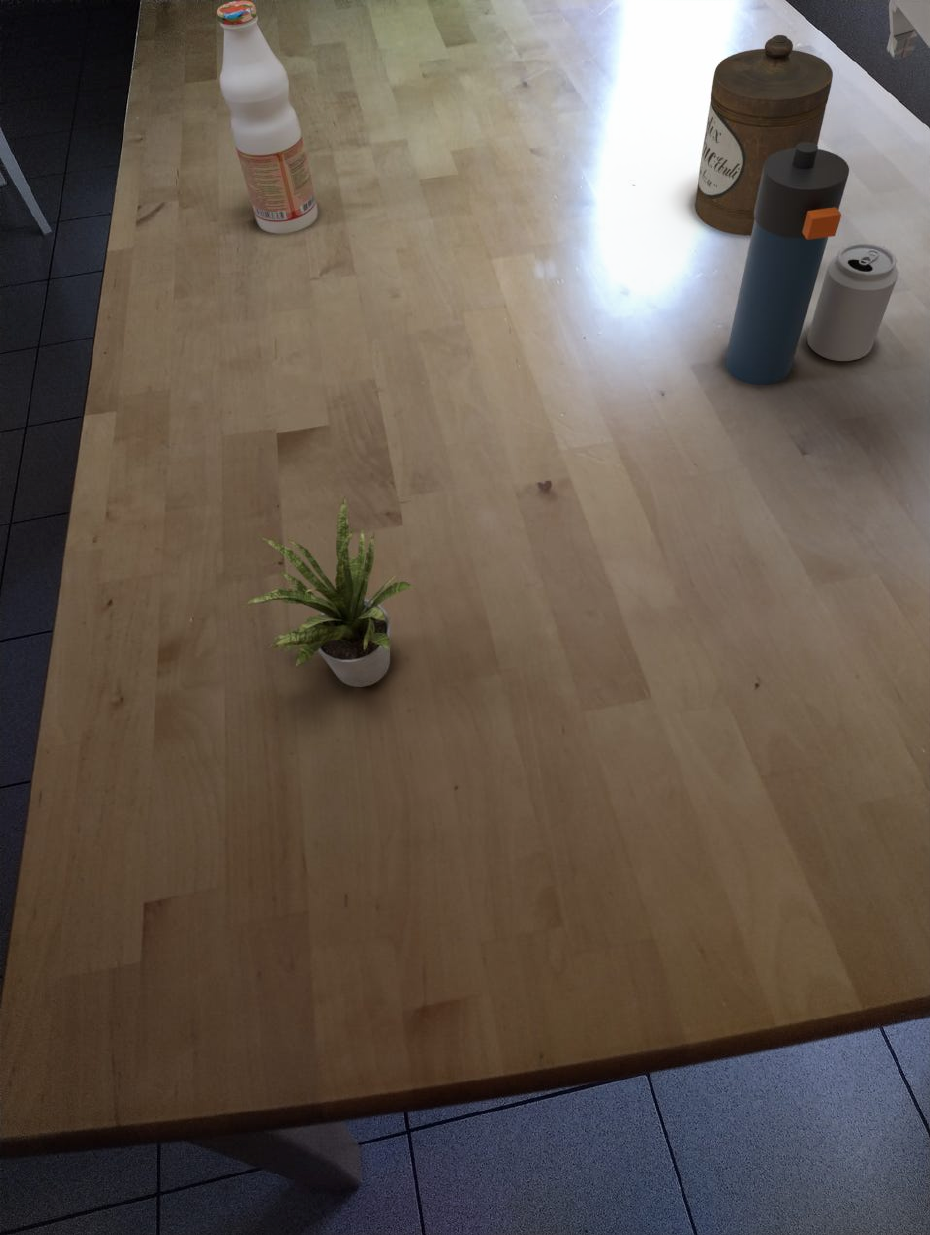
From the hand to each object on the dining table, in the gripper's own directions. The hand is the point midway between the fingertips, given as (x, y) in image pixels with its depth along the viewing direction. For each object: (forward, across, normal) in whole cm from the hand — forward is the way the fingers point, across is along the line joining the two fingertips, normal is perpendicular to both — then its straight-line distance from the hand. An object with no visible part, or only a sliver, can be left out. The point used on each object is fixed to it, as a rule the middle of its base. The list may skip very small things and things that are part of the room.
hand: (921, 84), depth 75 cm
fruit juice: (+31, +50, +65) cm, 88 cm away
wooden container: (+38, +34, 0) cm, 51 cm away
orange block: (+11, -2, +8) cm, 14 cm away
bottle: (+32, +1, +10) cm, 34 cm away
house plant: (+21, -30, +61) cm, 71 cm away
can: (+34, +2, 0) cm, 34 cm away
